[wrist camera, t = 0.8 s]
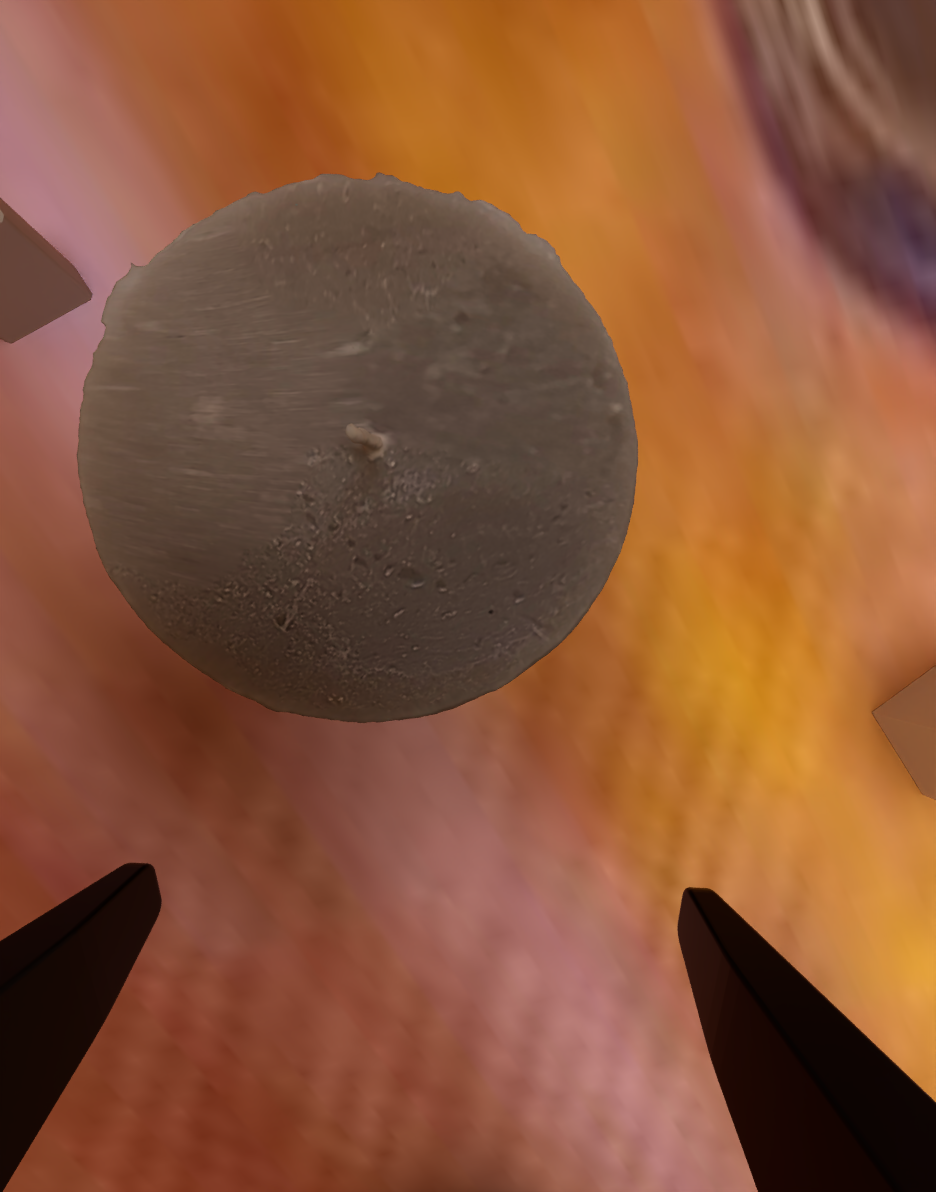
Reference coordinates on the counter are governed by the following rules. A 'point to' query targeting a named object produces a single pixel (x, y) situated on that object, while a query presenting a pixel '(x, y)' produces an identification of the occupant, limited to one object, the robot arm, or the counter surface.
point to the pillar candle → (357, 448)
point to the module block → (914, 729)
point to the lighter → (33, 279)
